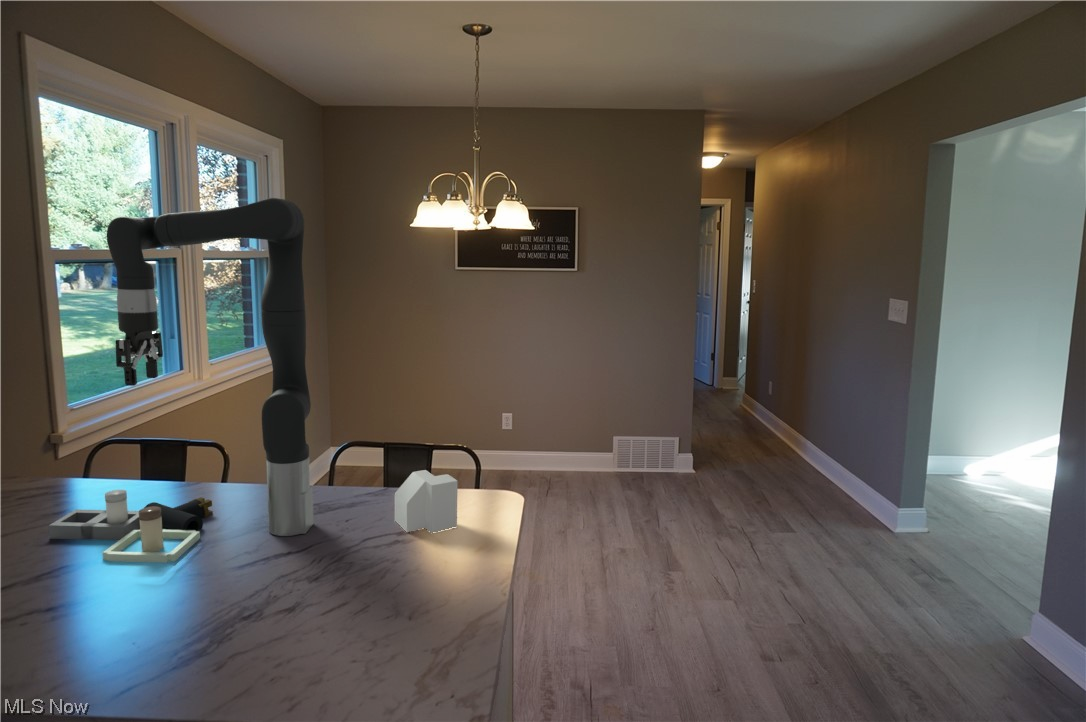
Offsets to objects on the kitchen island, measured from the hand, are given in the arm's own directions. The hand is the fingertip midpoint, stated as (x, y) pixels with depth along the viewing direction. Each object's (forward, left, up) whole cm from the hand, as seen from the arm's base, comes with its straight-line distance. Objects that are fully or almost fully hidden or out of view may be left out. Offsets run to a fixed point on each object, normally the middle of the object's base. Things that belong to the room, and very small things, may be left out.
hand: (142, 381), depth 154 cm
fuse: (+4, +6, -33) cm, 34 cm away
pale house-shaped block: (-63, -4, -34) cm, 72 cm away
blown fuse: (-8, +14, -34) cm, 37 cm away
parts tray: (-8, +14, -34) cm, 38 cm away
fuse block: (+8, +6, -34) cm, 36 cm away
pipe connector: (-7, -1, -35) cm, 35 cm away
